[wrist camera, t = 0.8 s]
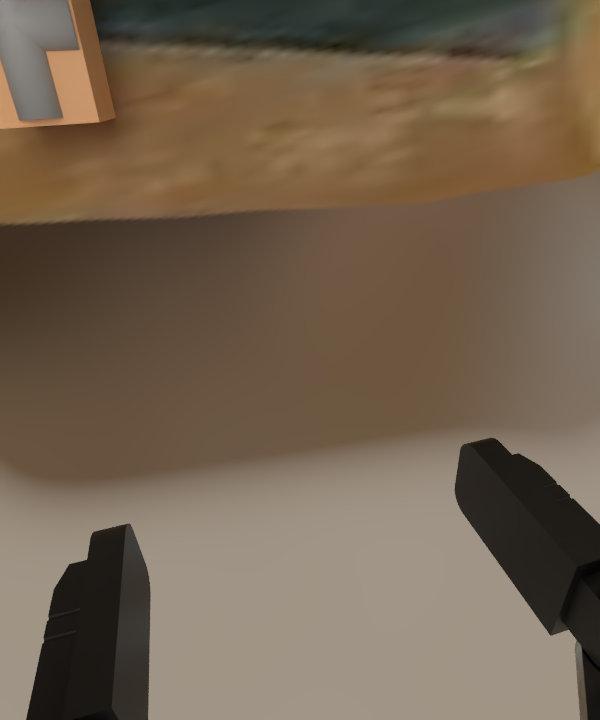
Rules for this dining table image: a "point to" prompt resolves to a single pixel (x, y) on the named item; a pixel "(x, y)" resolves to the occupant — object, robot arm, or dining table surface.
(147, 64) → the dining table surface
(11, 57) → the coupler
